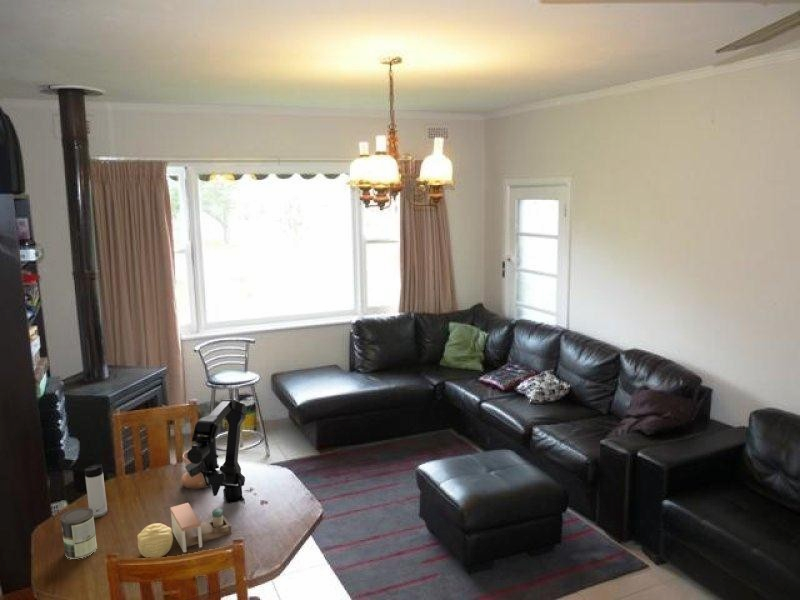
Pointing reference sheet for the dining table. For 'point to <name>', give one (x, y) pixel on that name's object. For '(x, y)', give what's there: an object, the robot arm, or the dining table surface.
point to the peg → (217, 518)
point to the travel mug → (96, 490)
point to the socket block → (207, 532)
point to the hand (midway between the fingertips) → (211, 490)
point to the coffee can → (78, 533)
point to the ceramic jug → (195, 481)
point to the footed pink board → (184, 523)
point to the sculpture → (155, 540)
